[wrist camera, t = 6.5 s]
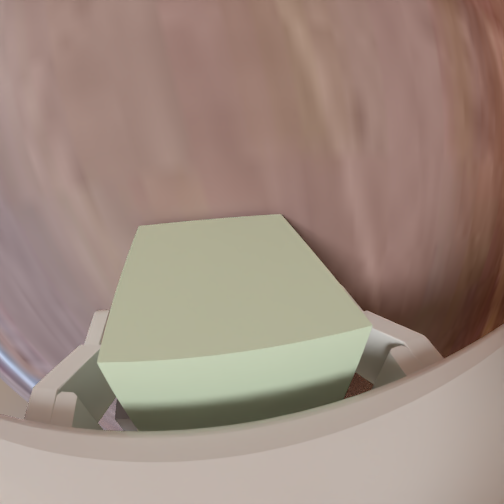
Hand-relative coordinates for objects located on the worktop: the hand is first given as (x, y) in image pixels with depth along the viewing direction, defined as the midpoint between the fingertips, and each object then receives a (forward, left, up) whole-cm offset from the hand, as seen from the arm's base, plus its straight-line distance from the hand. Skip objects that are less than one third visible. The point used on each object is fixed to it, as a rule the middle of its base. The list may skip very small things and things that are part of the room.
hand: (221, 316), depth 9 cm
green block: (0, 0, -2) cm, 2 cm away
